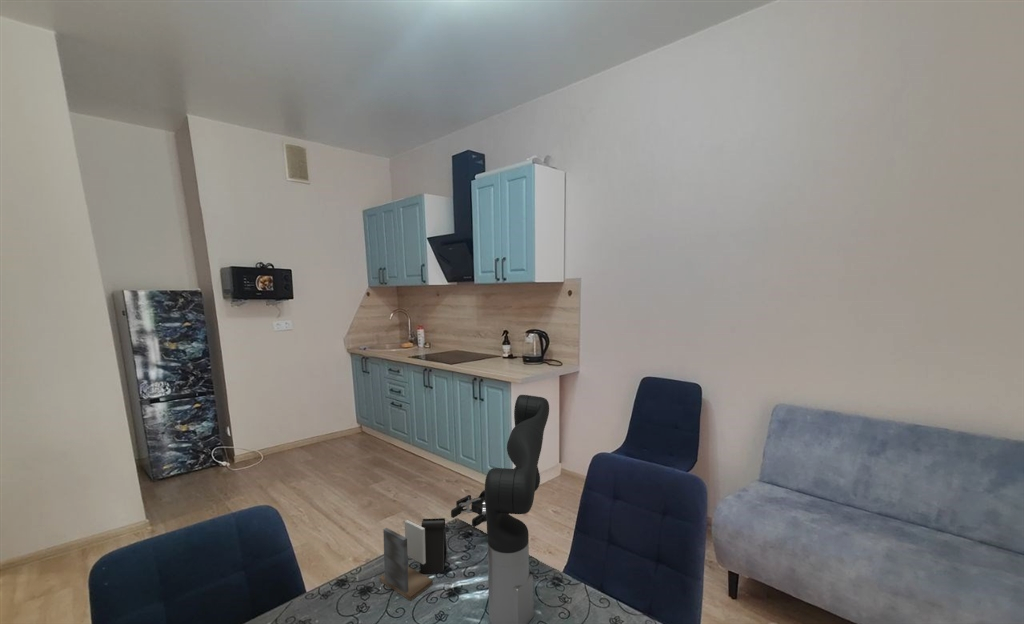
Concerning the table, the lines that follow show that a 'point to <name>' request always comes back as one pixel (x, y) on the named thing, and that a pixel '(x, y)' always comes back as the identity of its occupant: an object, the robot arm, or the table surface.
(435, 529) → the phone stand
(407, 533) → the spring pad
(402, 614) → the table surface
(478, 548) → the table surface
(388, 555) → the grey bookend
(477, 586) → the table surface
